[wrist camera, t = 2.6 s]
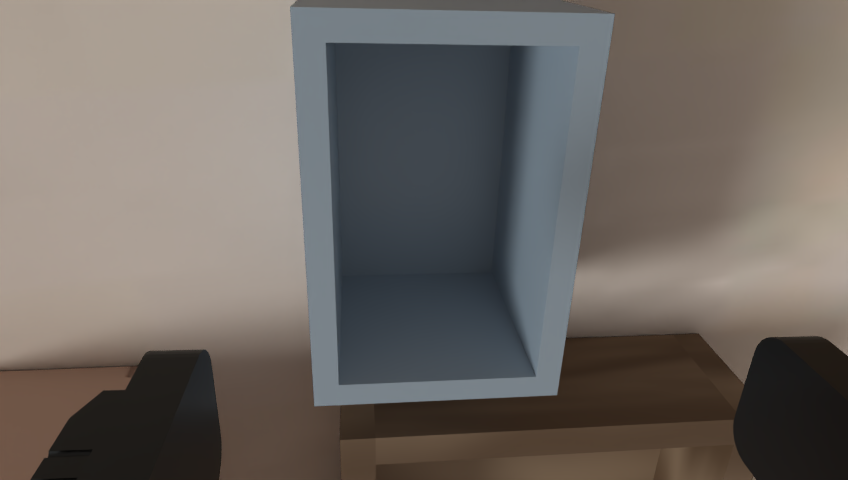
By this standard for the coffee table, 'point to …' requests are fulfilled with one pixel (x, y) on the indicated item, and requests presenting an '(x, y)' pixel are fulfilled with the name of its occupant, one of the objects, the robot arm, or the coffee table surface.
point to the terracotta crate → (45, 410)
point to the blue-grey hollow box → (443, 191)
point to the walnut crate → (567, 422)
